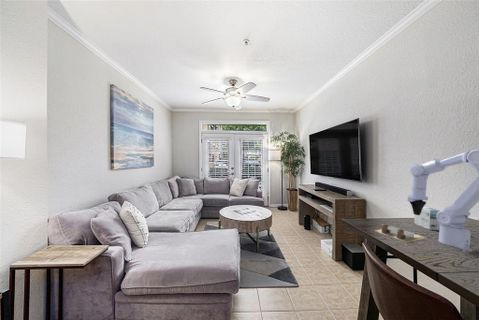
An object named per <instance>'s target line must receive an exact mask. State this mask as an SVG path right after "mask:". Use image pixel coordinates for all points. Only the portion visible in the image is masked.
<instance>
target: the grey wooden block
mask: <svg viewBox="0 0 479 320" xmlns="http://www.w3.org/2000/svg"><path fill="white" fill-rule="evenodd" d="M397 229H400V228H399V227H395V226H392V225H390V226H388V231H387V233H388V234H391V235H394V236H397ZM403 230H404V237H403V239H409V238H414V234H415V232H411V231H408V230H405V229H403Z"/></svg>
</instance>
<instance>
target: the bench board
mask: <svg viewBox="0 0 479 320" xmlns="http://www.w3.org/2000/svg"><path fill="white" fill-rule="evenodd" d="M388 227H389V226H388V224H386V223H385V224H384V223H382V224H381V228H380V229H375V230H373V232H377V233H379V234H382V235H384V236H388V237H391V238H394V239H397V240H398V241H401V242H405V243H412V242H416V241H420V240H425V239H427V236H426V237H425V236H422V235H419V234H415V233H414V238H409V239H403V237H404V230H405V229H402V228H399V229H397V236H394V235H391V234H388V233H387V231H388Z"/></svg>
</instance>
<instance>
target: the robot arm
mask: <svg viewBox="0 0 479 320" xmlns="http://www.w3.org/2000/svg"><path fill="white" fill-rule="evenodd" d="M465 163H469V164H470V165H471V166H472V168H474V170H476V172H477V174H478V175H477V176H476V177H475V179H474V180H473V181H472V182H471V183H470V184H468V185H469V186H468V185H467V187H466V188H465V190H463V192H462V193H461V194H460V195H459V196H458V197H457V199H456V200H454V202H453V203H451V204H450V205H448V206H446V207H444V208H443V209H441V210H440V211H439V212H438V213H437V215H436V217H437V220H438V221H439V224H440V230H438V231H439V232H438V233H439V234H438V242H439V243H441V244H444V245H447V246H451V247H454V248H457V249H461V250H459V252H465V251H467V250H470V249H471V238H472V235H471V231H470V230H469V229H466V228H464V225H465V224H466V223H467V222H468V220H469V217H470V216H471V212H470V211H471V210H472V208H473V207H475V205H476V204H477V203H478V202H479V149H478V148H475V149H473V150H467V151H464V152H463V153H462V152H461V153H459V154H457V155H454V156H453V155H452V156H451V157H448V158H445V159H442V160H441V159H438V158H432V159H431V160H430V161H426V162H425V161H424V162H421V164H413V165H411V166H410V168H409V173H410V174H411V177H412V178H411V192H410V194H409V195H408V197H407V201H408V202H409V203H410V205H411V209H412V212H413V215H414V216H415V215H420V214H421V211H422V209H423V207H424V206H426V205H427V201H428V200H429V196H427V183H428V179H429V176H430V175H431V174H435V173H439V172H443V171H445V170H446V168H448V167H451V166H455V165H460V164H465Z"/></svg>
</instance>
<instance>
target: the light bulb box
mask: <svg viewBox="0 0 479 320" xmlns="http://www.w3.org/2000/svg"><path fill="white" fill-rule="evenodd" d="M439 211H441V210H440V209H437V208H433V207H428V206H426V205H424V207H423V209H422V211H421V214H420V215H415V214H414V221H413V224H414V223H415V225H417V226H419V227H422V228H424V229H427V230H430V231H431V230H432V231H433V230H434V231H439V230H440V224H439V221H438V220H437V217H436V215H437V213H438V212H439Z"/></svg>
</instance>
